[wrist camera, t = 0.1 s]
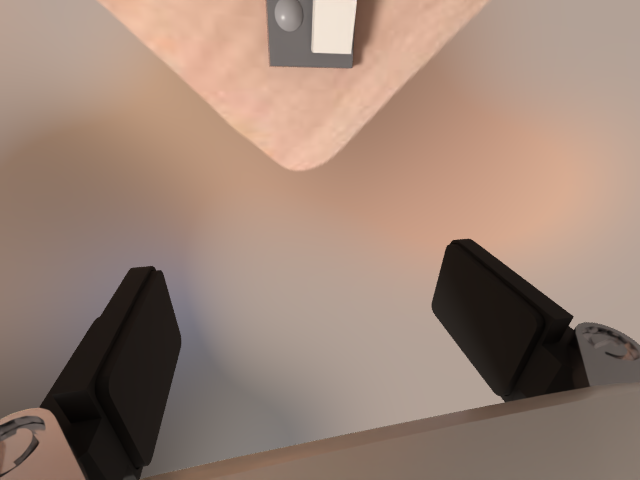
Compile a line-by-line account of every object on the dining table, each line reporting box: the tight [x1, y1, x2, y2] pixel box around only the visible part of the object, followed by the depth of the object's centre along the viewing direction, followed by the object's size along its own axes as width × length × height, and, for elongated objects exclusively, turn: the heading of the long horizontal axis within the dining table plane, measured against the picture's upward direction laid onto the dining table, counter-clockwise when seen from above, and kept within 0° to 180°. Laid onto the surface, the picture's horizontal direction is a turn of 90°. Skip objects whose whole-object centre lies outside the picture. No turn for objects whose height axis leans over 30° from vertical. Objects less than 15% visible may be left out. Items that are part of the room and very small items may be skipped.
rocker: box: [311, 0, 357, 54], centre depth 29 cm, size 6×4×1 cm, turn 179°
